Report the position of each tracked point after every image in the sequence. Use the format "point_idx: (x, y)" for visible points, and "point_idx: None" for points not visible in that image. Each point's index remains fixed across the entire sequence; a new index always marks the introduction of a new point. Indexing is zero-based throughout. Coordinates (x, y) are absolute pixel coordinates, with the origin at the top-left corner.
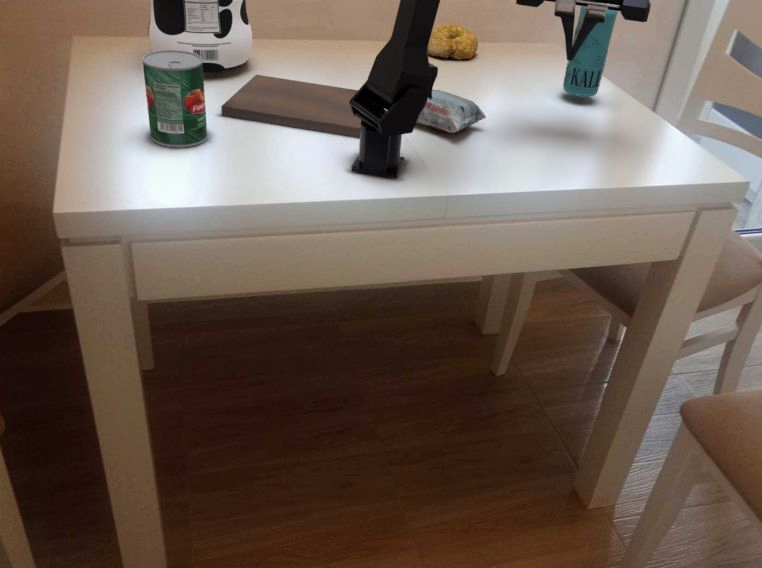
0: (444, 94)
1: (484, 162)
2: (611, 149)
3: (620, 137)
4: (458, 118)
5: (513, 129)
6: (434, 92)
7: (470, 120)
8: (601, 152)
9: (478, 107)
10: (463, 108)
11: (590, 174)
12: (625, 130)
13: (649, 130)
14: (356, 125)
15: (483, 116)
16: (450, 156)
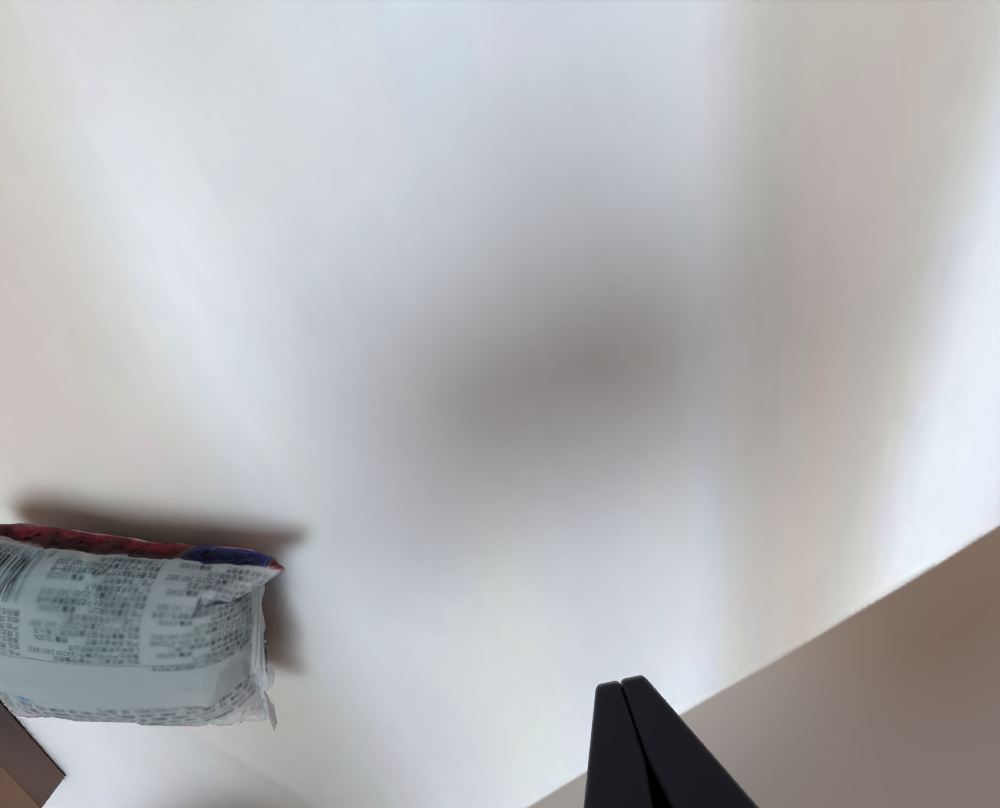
0: (70, 674)
1: (418, 717)
2: (764, 405)
3: (800, 251)
4: (239, 715)
5: (385, 454)
6: (19, 669)
7: (261, 637)
8: (729, 455)
9: (231, 590)
10: (216, 702)
11: (707, 624)
12: (826, 136)
13: (951, 42)
14: (12, 803)
15: (275, 573)
16: (324, 736)
